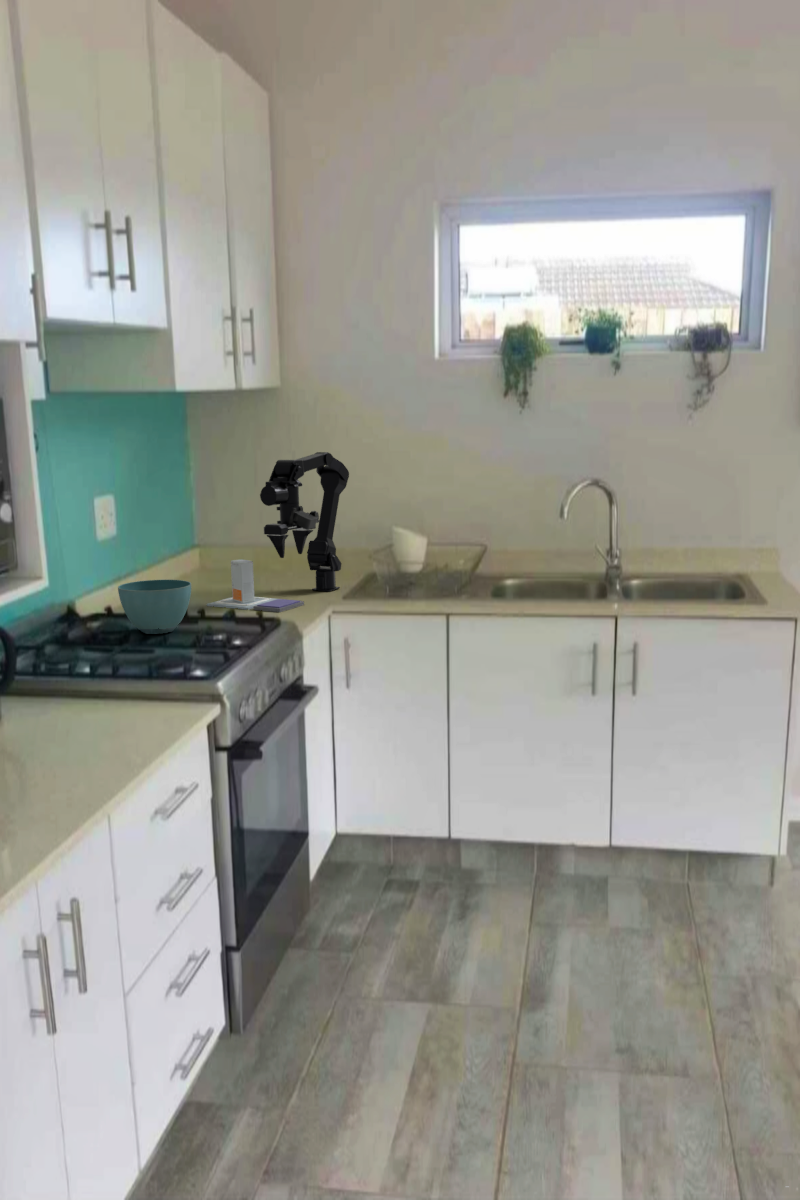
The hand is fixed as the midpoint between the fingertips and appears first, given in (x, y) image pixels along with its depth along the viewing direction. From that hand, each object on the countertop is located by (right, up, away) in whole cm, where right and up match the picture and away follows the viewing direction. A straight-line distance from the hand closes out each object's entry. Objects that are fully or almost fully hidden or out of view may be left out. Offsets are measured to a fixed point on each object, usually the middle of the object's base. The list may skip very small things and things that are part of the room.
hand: (291, 555), depth 305 cm
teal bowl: (-30, -21, -39) cm, 54 cm away
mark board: (-14, -14, -2) cm, 20 cm away
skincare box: (-14, -14, -2) cm, 19 cm away
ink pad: (-2, -15, -10) cm, 18 cm away
